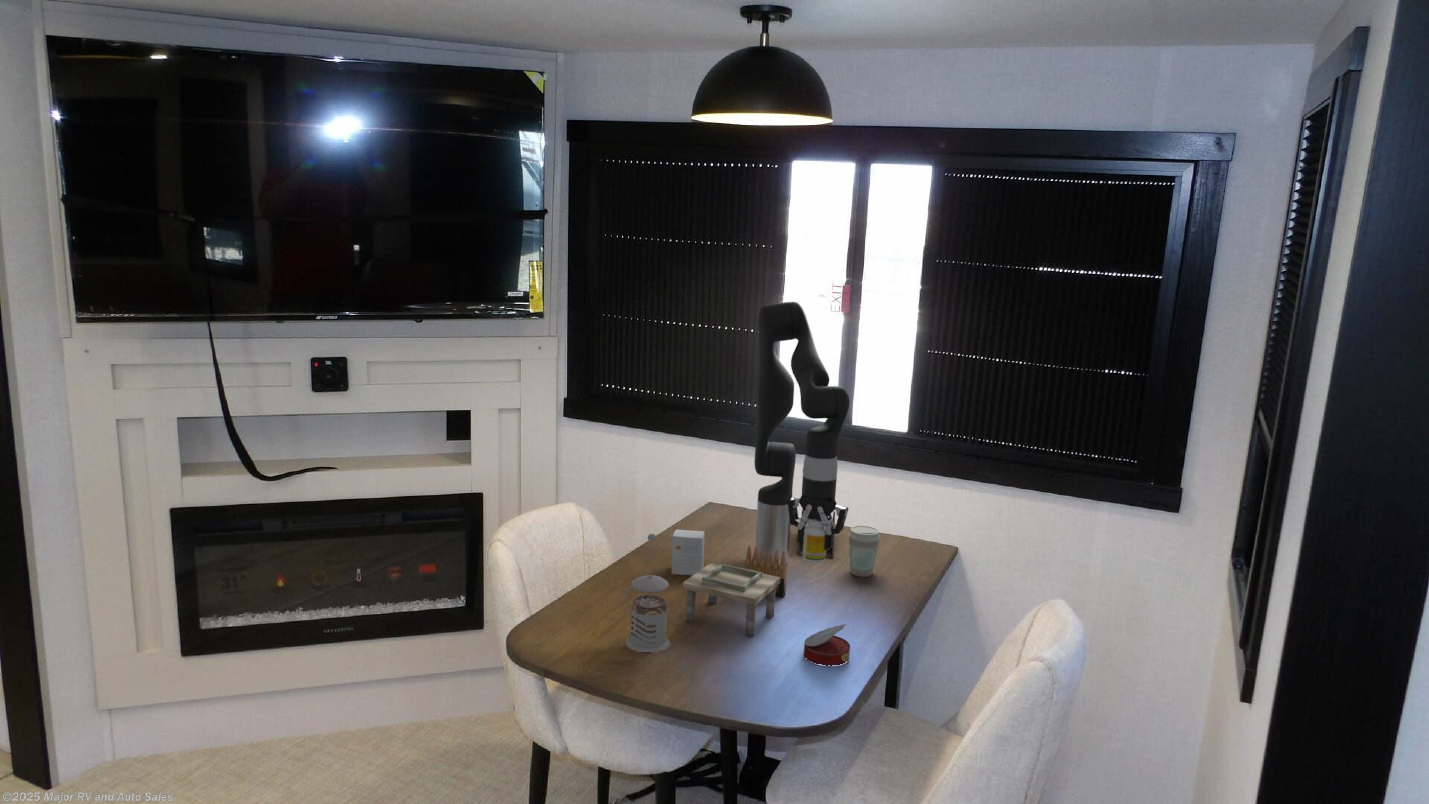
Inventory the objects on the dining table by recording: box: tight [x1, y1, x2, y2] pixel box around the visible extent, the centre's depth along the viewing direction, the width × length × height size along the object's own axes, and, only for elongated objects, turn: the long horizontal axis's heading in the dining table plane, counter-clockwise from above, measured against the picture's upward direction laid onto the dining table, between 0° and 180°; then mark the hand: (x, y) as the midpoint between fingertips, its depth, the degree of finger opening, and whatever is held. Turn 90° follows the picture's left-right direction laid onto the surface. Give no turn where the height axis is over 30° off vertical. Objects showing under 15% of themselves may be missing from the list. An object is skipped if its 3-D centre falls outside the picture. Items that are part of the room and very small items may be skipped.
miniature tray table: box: [682, 562, 780, 638], centre depth 224 cm, size 15×18×11 cm
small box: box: [671, 529, 705, 576], centre depth 252 cm, size 8×6×10 cm
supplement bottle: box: [801, 518, 827, 564], centre depth 217 cm, size 5×5×10 cm
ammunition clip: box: [744, 545, 787, 599], centre depth 240 cm, size 11×2×12 cm, turn 72°
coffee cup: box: [847, 525, 881, 578], centre depth 257 cm, size 8×8×12 cm
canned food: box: [803, 623, 851, 666], centre depth 207 cm, size 11×10×10 cm
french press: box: [621, 533, 671, 653], centre depth 209 cm, size 10×12×25 cm
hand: (814, 546), depth 217 cm, fingers closed on supplement bottle, 5 cm apart
